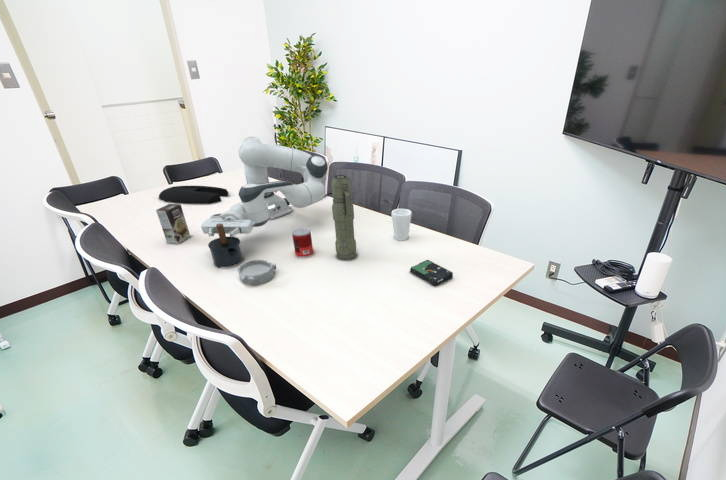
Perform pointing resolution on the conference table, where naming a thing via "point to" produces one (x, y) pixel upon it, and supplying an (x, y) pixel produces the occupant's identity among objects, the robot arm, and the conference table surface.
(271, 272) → the dish
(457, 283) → the conference table surface
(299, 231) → the canned food
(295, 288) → the conference table surface
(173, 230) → the coffee box
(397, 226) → the foam cup
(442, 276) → the disk drive
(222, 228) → the lid
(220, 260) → the pot
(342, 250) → the thermos
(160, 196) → the black flat oval slab
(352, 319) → the conference table surface
